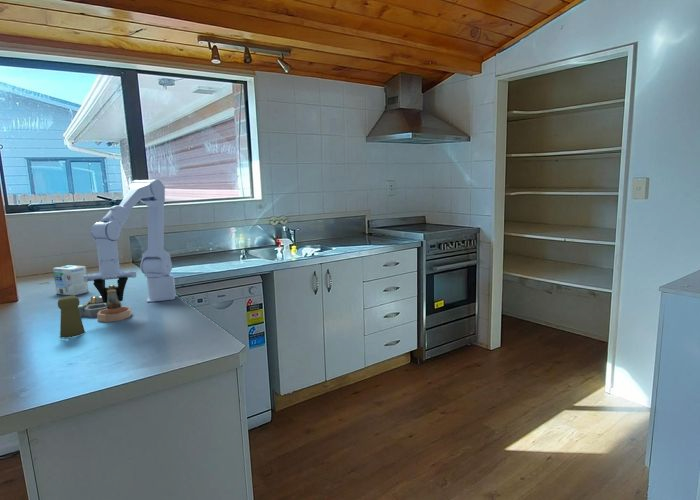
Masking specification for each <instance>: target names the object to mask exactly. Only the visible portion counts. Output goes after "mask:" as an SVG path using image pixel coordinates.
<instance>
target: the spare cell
mask: <svg viewBox="0 0 700 500" xmlns="http://www.w3.org/2000/svg"><path fill="white" fill-rule="evenodd" d="M89 301H90V304H100V303H103V299H102V297H101V295H94V296H91V297H90V300H89Z"/></svg>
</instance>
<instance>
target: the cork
mask: <svg viewBox="0 0 700 500" xmlns="http://www.w3.org/2000/svg"><path fill="white" fill-rule="evenodd" d="M79 305H80V298H78V297H77V295H74V296H71V295H65V296H64V297H61V298H59V299H58V301H57V307H58V309H59V310H60V323H59V324H60V326H59V327H60V328H59V330H60V331H59V333H60V334H59V335H60V336H59V337H60V338H64V339H65V338H73V337H78V336H82V335H84V334H85V333H86V330H85V327H84V325H83V320H82V317H80V313H79V310H78V306H79Z"/></svg>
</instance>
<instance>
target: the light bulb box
mask: <svg viewBox="0 0 700 500" xmlns="http://www.w3.org/2000/svg"><path fill="white" fill-rule="evenodd" d="M52 271H53V277H54V287H55V294H58V295H65V296H78V295H83V294H85V293H89V292H90V291H89V283H88V282H89V281H88V282H84V277H83V276H84V275H88V274H87V267H86V266H85V265H71V264H67V265H63V266H57V267H53V270H52Z"/></svg>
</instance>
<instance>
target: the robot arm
mask: <svg viewBox="0 0 700 500" xmlns="http://www.w3.org/2000/svg"><path fill="white" fill-rule="evenodd" d="M165 189H166V187H165V185H164V183H163V182H162V181H161V180H160V179H158V178H157V179H156V178H155V179H140V180H139V179H134V180H132V181H131V183H130V184H129V185H128V190H127V191H128V192H126V194H125V196H124V197H123V199H122V200H121V202H120V203H119V205H113V206H111V207H110V208H109V211H107V213H106V214H105V215H104V216H103V217H102V218H101V220H100V221H96V222H95V223H93V224H92V226H91V228H90V231H89V234H90V237H91V238H92V239H93V242H94V243H93V244H94V245H95V246H96V251H97V261H98V269H99V272H98V273H91V274H89V273H88V274H87V275H84V276H83V277H84V282H93V284H92V285H94V287H95V288H96V290H97V291H98V293H99V296H101V297H102V299H103V303H106V295H105V288H106V280H115V279H116V281H117V286H118V288H119V300H120V301H121V302H123V300H124V291H125V288H126V285H127V282H128V280H129V278H133V279H134V278H136V277H137V271H136V270H125V271H124V270H121V265H120V257H119V249H118V248H119V247H118V238H120V236H121V233H122V228H123V226H124V224H125V223H126V221H127V220H128V219H129V218H130V211H131V210H132V209H133V208H134V207H135V206H136V205H137V204H138V202H139V201H140V202H141V203H142V204H145V205H146V206H147V250H146V251H144V252H143V253H142V255H141V260H140V264H139V267H140V271H141V273H142V275H143V274H144V277H146V285H147V295H148V297H147V299H146V302H147V303H153V302H160V301H170V300H175V299H176V294H177V291H176V286H175V276H174V274H171V272H172V270H173V263H172V260H171V254H170V253H169V252H167V250H165V249H164V248H165V247H164V246H165V245H164V243H165V240H164V239H165V238H164V237H165V236H164V235H165V201H166V200H165V199H166V197H165V196H166V193H165V192H166V190H165Z"/></svg>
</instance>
